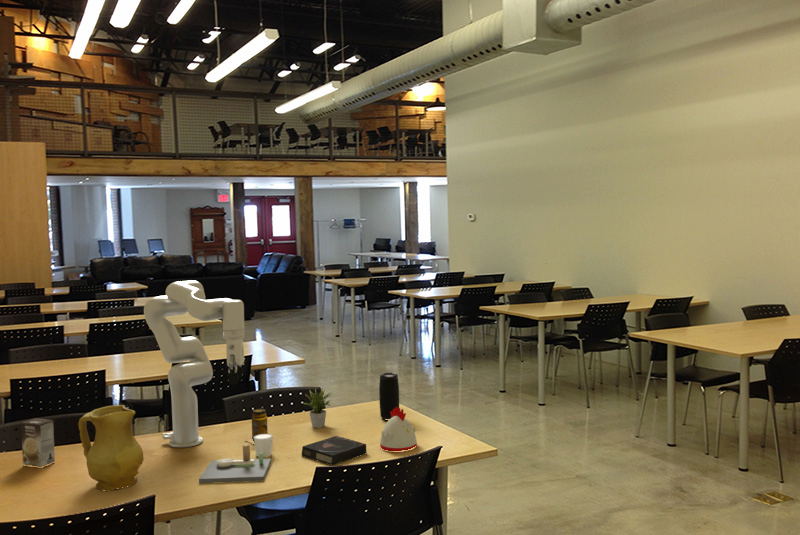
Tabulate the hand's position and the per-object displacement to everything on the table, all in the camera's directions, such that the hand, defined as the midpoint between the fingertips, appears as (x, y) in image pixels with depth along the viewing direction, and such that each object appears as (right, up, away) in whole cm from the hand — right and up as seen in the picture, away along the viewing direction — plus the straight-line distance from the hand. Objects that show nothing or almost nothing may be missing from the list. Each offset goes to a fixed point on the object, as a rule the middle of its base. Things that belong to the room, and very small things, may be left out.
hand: (235, 380), depth 245 cm
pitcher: (-34, -30, -22) cm, 51 cm away
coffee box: (-70, -30, -2) cm, 77 cm away
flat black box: (+36, -28, +2) cm, 46 cm away
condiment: (+4, -28, +22) cm, 35 cm away
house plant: (+26, -26, +39) cm, 53 cm away
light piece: (+3, -27, -12) cm, 29 cm away
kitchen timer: (+59, -27, +10) cm, 66 cm away
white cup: (+9, -28, +4) cm, 30 cm away
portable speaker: (+55, -25, +49) cm, 78 cm away
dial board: (+4, -29, -14) cm, 33 cm away
